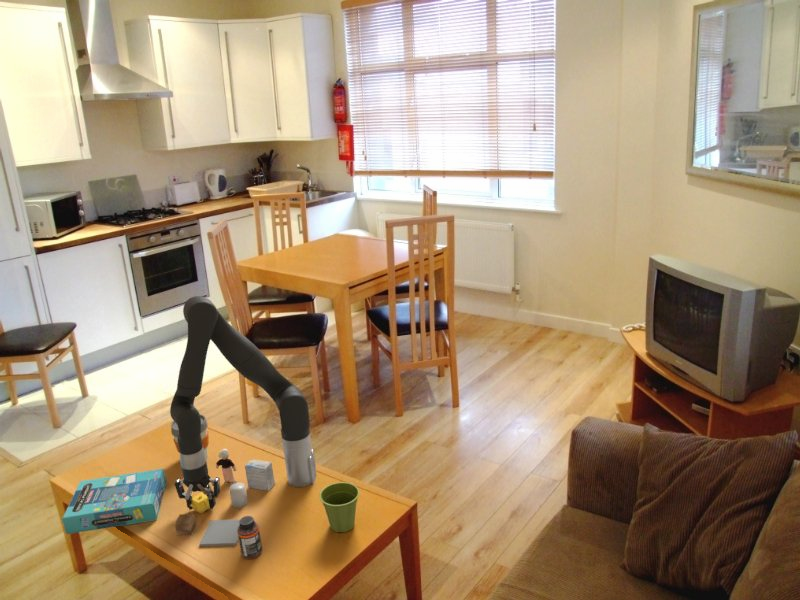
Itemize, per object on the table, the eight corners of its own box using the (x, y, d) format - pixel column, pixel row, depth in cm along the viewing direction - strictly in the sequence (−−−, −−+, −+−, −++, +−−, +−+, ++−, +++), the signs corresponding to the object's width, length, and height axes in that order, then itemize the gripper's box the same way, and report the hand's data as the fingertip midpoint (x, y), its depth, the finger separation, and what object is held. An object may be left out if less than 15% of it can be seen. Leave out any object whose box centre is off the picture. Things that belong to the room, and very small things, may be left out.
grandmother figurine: (241, 478, 227) (236, 446, 223) (238, 485, 224) (232, 452, 220) (220, 479, 228) (214, 446, 224) (216, 485, 225) (210, 452, 221)
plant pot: (348, 542, 192) (345, 509, 189) (315, 531, 198) (311, 499, 194) (370, 519, 202) (367, 487, 198) (337, 509, 208) (334, 478, 204)
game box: (167, 483, 228) (84, 496, 224) (163, 467, 225) (80, 480, 222) (157, 520, 208) (66, 535, 205) (153, 503, 206) (61, 518, 203)
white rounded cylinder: (249, 498, 216) (246, 482, 215) (245, 507, 212) (242, 491, 210) (234, 498, 217) (231, 482, 215) (230, 508, 212) (227, 492, 210)
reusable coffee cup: (186, 449, 249) (179, 413, 244) (218, 449, 247) (212, 413, 242) (171, 467, 237) (163, 430, 232) (204, 468, 235) (197, 431, 231)
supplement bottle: (243, 547, 194) (237, 514, 190) (263, 544, 194) (258, 512, 190) (240, 561, 188) (234, 527, 184) (261, 558, 188) (255, 525, 185)
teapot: (198, 519, 207) (195, 505, 206) (187, 513, 211) (185, 499, 209) (219, 506, 213) (217, 492, 212) (208, 500, 217) (206, 487, 215)
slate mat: (246, 521, 205) (245, 519, 205) (236, 545, 195) (236, 542, 194) (211, 522, 206) (210, 520, 205) (199, 546, 195) (199, 544, 195)
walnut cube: (196, 526, 205) (193, 513, 203) (191, 535, 200) (188, 523, 199) (182, 526, 205) (179, 514, 204) (177, 535, 201) (174, 523, 199)
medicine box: (275, 484, 223) (272, 461, 220) (268, 491, 219) (265, 468, 216) (254, 480, 226) (251, 458, 223) (248, 488, 222) (244, 465, 219)
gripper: (219, 454, 210) (227, 500, 215) (175, 456, 210) (183, 501, 216) (212, 467, 202) (220, 514, 208) (166, 469, 203) (175, 515, 209)
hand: (201, 507), depth 212 cm, fingers closed on teapot, 6 cm apart
